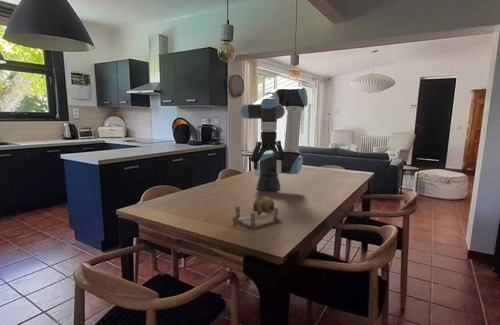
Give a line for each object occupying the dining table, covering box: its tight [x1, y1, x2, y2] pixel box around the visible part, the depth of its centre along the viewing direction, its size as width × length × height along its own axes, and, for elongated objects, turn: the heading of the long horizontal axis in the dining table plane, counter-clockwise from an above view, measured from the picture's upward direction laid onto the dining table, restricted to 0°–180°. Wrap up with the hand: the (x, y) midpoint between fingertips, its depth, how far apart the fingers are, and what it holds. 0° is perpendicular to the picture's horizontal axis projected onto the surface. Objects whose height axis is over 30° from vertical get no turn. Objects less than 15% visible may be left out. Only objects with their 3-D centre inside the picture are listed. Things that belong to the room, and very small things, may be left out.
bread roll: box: [252, 196, 275, 212], centre depth 140 cm, size 10×10×8 cm
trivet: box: [232, 201, 281, 231], centre depth 123 cm, size 15×15×6 cm
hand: (268, 174), depth 138 cm, fingers open, 13 cm apart
